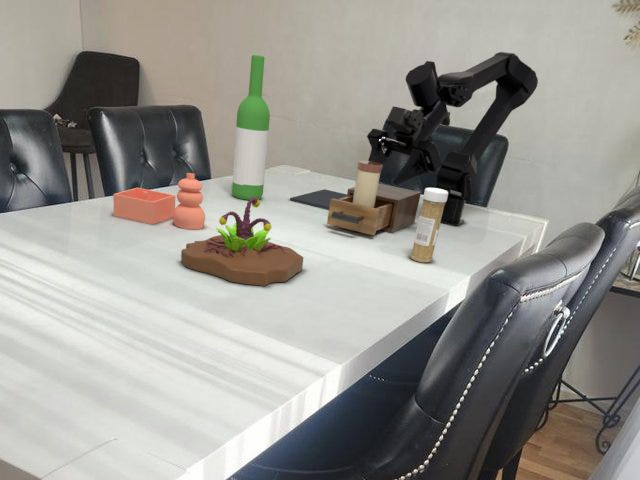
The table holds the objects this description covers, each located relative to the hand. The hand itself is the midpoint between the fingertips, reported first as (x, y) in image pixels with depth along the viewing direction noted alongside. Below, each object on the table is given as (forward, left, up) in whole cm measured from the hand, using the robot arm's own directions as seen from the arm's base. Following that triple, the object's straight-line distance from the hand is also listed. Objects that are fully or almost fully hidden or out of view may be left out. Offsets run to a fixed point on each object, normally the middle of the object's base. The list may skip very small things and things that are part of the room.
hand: (379, 178), depth 144 cm
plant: (+48, -4, -11) cm, 49 cm away
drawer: (+4, -1, -10) cm, 11 cm away
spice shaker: (+3, -1, -9) cm, 10 cm away
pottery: (+35, -32, -11) cm, 49 cm away
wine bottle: (-1, -34, -11) cm, 36 cm away
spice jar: (+15, +18, -11) cm, 26 cm away
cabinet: (-9, -1, -11) cm, 14 cm away
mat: (-19, -16, -11) cm, 27 cm away
